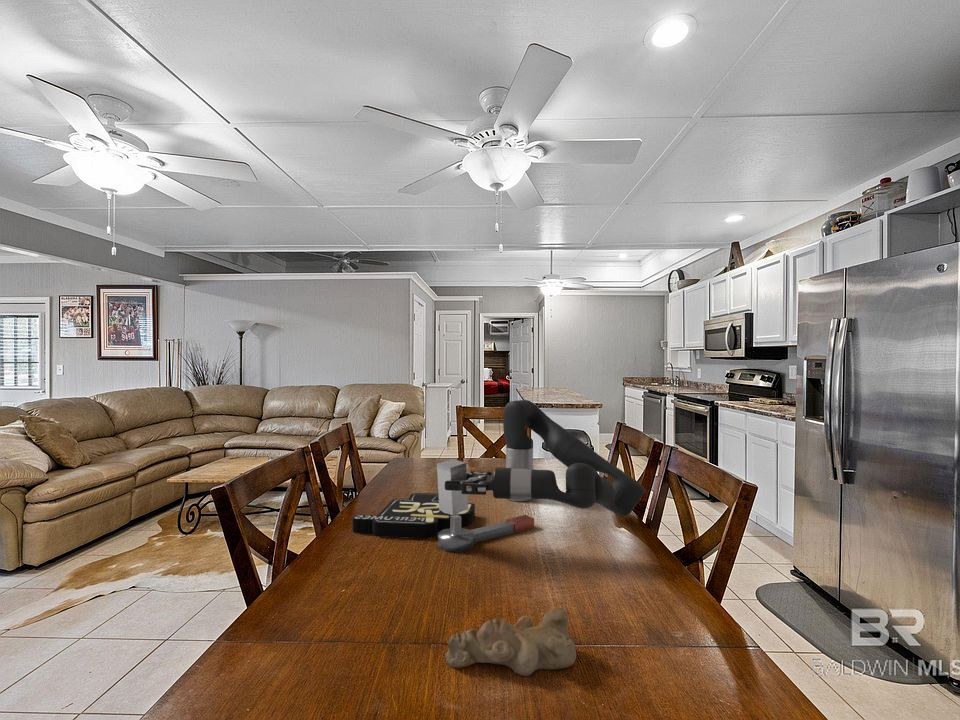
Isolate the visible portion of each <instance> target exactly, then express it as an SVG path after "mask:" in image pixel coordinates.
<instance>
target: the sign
mask: <svg viewBox="0 0 960 720" xmlns="http://www.w3.org/2000/svg"><path fill="white" fill-rule="evenodd" d="M475 507H476V504H475V503H471V502H470V503H469V502H468V509H467V510H464V511H462V512H460V513H457V514H455V515H459V516H461V528H464V527H465V528H467V527H470V526H472V525H473V523H474V519H475V517H476V516H475V510H476V509H475ZM450 516H453V515H451V514H448V513H446V512H443V511H441V510H439V494H438V493H429V492H428V493H427V492H414V493H411V494H410V495H409V497H408V498H395V499H391V500H390V502H389V503H388V504H386V506H385V507H384V508H383V509H382V510H381V511H380V512H379V513H378V514H377V515H375V514H374V515H373V514H356V515H354V516H353V517H352V518H351V519H352V521H351V522H352V524H351V525H352V529H351V531H352V533H357V534H358V533H362V534H371V535H372V534H373V535H372V536H374V537H377V536H390V537H389V538H400V537H408V538H407V539H423V538H425V539H428V537H429V538H436V537H438V533H439V532H440V531H441V530H444V529H448V528H450ZM465 528H464V529H465Z"/></svg>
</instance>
